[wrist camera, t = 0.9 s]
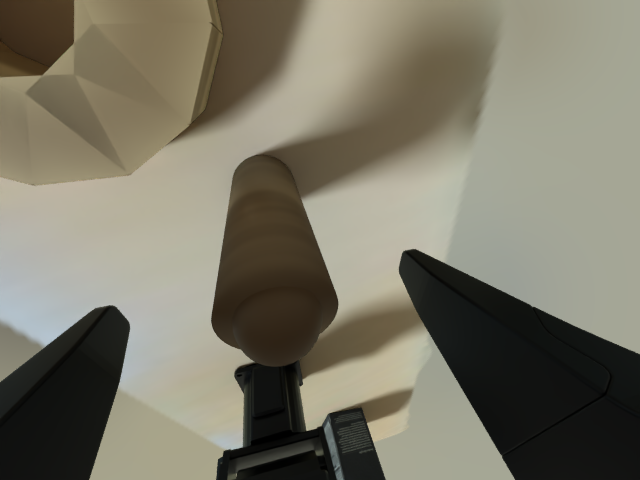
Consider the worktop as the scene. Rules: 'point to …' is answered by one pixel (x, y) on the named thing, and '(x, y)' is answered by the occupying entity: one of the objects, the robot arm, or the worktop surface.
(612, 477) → the robot arm
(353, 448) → the small box
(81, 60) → the bead
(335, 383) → the worktop surface
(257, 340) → the brown cylinder
